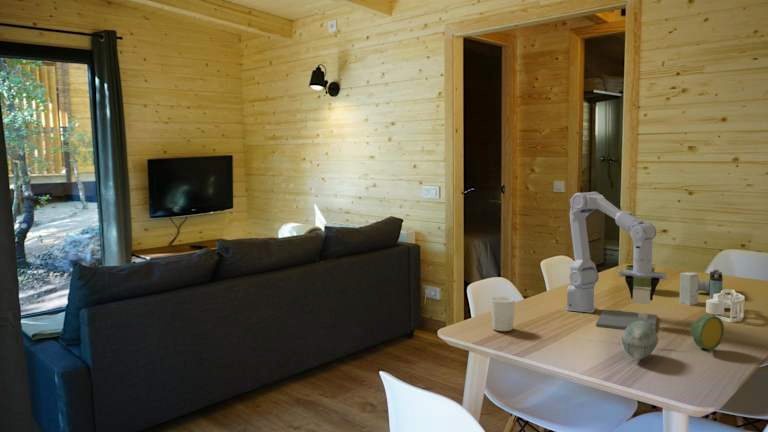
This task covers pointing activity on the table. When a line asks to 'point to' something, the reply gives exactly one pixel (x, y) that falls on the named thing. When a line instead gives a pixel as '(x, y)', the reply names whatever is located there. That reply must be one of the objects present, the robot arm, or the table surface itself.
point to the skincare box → (688, 288)
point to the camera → (712, 283)
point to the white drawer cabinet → (641, 295)
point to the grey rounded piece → (639, 339)
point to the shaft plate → (623, 319)
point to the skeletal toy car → (726, 305)
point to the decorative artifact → (707, 331)
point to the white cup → (502, 313)
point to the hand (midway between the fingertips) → (641, 298)
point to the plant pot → (641, 279)
